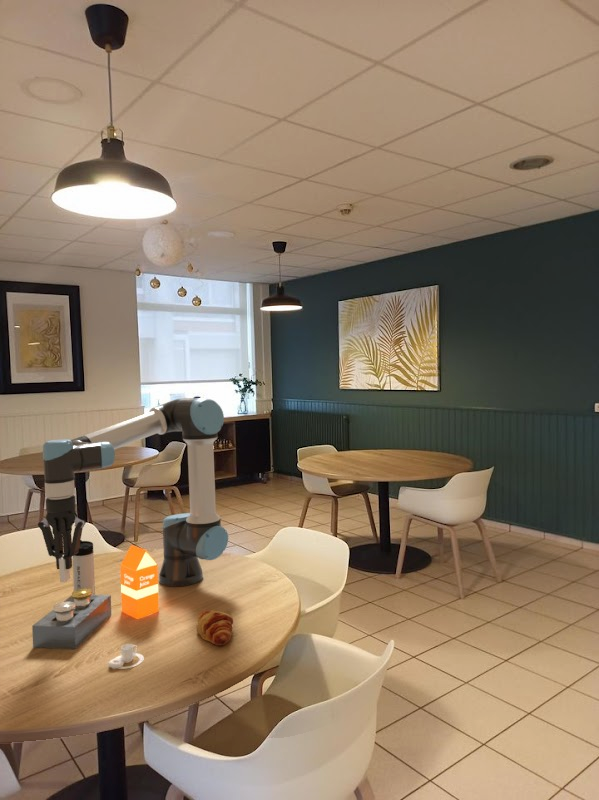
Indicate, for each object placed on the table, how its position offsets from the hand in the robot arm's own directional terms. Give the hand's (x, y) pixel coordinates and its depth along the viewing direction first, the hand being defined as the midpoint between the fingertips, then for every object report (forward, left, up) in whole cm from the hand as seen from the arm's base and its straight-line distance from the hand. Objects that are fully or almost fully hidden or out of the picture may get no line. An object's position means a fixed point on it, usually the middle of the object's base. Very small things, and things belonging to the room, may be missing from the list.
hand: (65, 580), depth 158 cm
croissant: (-41, -5, -17) cm, 44 cm away
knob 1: (0, 0, -15) cm, 15 cm away
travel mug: (+6, -23, -16) cm, 29 cm away
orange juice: (-14, -19, -16) cm, 28 cm away
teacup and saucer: (-19, +11, -17) cm, 28 cm away
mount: (0, -5, -16) cm, 17 cm away
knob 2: (0, -10, -15) cm, 18 cm away
